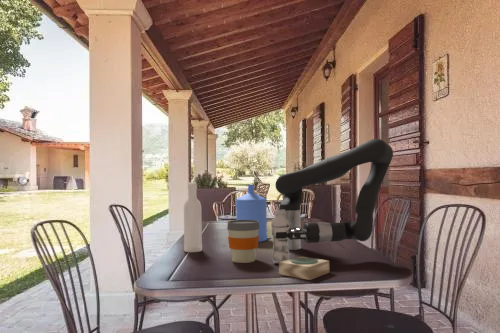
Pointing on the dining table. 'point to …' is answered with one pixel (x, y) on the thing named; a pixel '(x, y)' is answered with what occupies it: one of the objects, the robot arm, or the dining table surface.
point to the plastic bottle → (280, 244)
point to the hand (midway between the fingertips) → (274, 234)
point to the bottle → (192, 221)
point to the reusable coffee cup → (243, 240)
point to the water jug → (253, 211)
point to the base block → (304, 267)
